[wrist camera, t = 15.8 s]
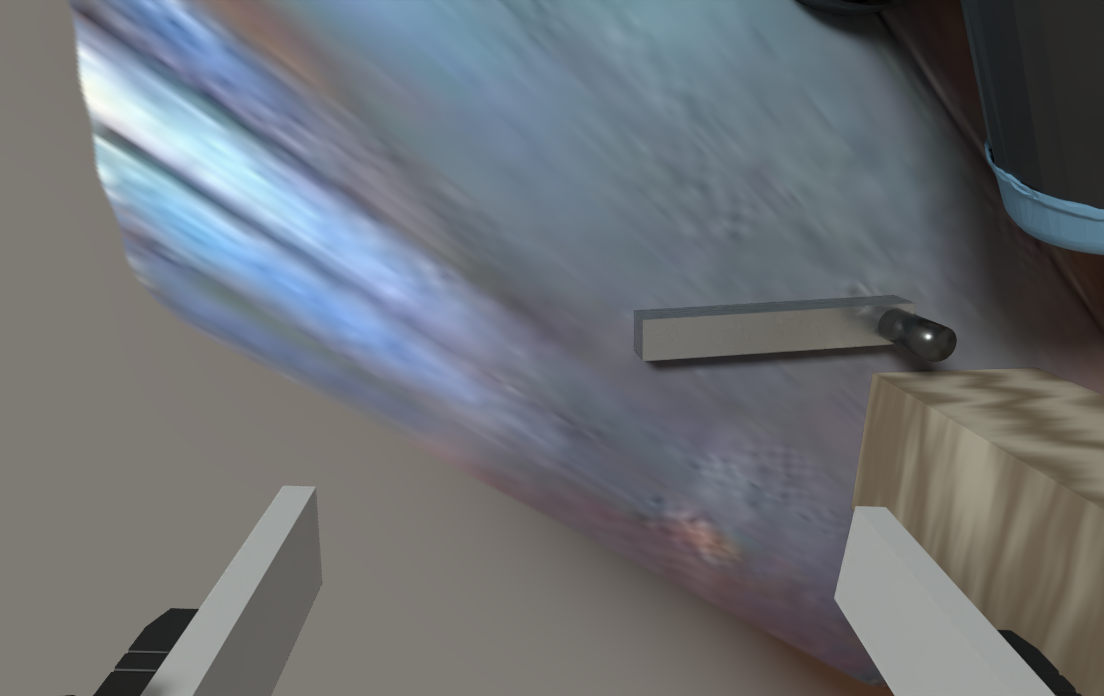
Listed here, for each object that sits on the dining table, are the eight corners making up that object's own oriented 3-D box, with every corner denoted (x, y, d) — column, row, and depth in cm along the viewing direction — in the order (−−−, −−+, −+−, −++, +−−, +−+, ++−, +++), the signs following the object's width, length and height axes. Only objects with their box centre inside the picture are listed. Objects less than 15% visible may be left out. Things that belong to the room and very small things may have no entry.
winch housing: (844, 551, 57) (1206, 958, 29) (872, 373, 53) (1341, 650, 24) (995, 542, 59) (1481, 920, 31) (1036, 367, 54) (1659, 624, 26)
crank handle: (633, 348, 50) (661, 385, 43) (633, 309, 49) (662, 340, 42) (886, 332, 52) (957, 364, 44) (891, 294, 51) (964, 320, 44)
